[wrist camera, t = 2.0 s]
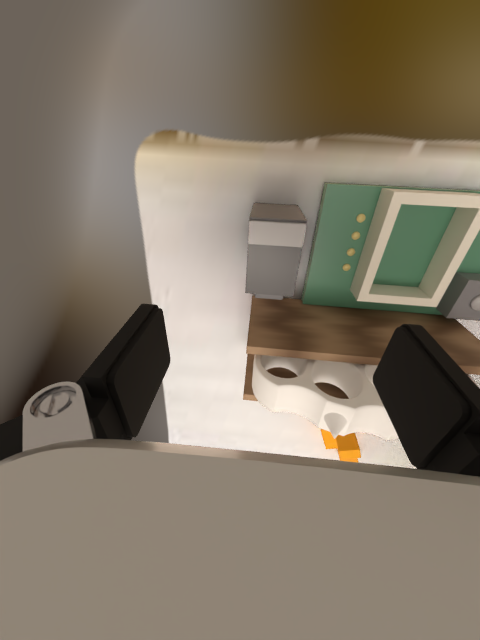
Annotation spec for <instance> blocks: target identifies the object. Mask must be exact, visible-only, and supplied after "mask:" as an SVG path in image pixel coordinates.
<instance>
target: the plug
mask: <svg viewBox="0 0 480 640" xmlns="http://www.w3.org/2000/svg"><path fill="white" fill-rule="evenodd" d="M306 223H307V220H306V218H305V216H304V215H303V213H302V211H301V210H300V208H299V207H298V205H285V204H267V203H254V204H253V208H252V211H251V214H250V220H249V234H248V256H247V274H246V292H245V293H252V294H255V298H264V299H277V300H283V296H291V297H293V296H294V291H295V285H296V279H297V274H298V268H299V263H300V257H301V251H302V247H303V244H304V239H305V233H306V227H307V224H306Z"/></svg>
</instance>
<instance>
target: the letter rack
mask: <svg viewBox="0 0 480 640" xmlns="http://www.w3.org/2000/svg"><path fill="white" fill-rule="evenodd" d="M402 324H415V325H421V326H423V327H424V328H425V329H426V331H427V332H428V333H429V334H430V335H431V336H432V337H433V338H434V339H435V340H436V342H437V343H438V344H439V345H440V346H441V347H442V348H443V349H444V350H445V351H446V352H447V354H448V355H449V356H450V357H451V358H452V359H453V360H454V361H455V362H456V363H457V365H458V366H459V367H460V368H461V369H462V370H463V371H464V372H465V373H466V374H476V375H480V340H479V339H477V338H476V337H475V336H474V335H473V334H472V333H471V332H469V331H468V330H467V329H466V328H465V327H464V326H463V325H461V324H460V323H459V322H458V321H457V320H456V319H453V318H446V317H445V316H444V315H436V314H423V313H411V312H398V311H385V310H373V309H360V308H347V307H335V306H322V305H309V304H303V303H302V299H289V298H283V300H277V299H264V298H255V296H252V305H251V314H250V323H249V332H248V341H247V352H246V354H248V356H247V366H246V375H245V385H244V395H243V400H252V401H258V400H257V399H256V397H255V395H254V393H253V389H252V376H253V363H254V357H255V354H257V355H268V356H279V357H290V358H301V359H312V360H323V361H334V362H345V363H356V364H367V365H378V364H379V362H380V360H381V358H382V356H383V354H384V352H385V350H386V348H387V345H388V343H389V341H390V339H391V337H392V335H393V333H394V331H395V329H396V328H397V327H400V326H401V325H402ZM266 371H267V372H269V373H270V374H272V375H274V376H276V377H280V378H295V377H298V376H297V375H296V374H295V373H294V372H292V371H291V370H289V369H286V368H281V367H274V368H270V369H268V370H266ZM315 385H316V386H317V387H318V388H319V389H320V390H321V391H323V392H324V393H326V394H328V395H330V396H332V397H335V398H340V399H349V398H348V396H347V395H346V393H345V392H344V391H343V390H341V389H340V388H338V387H337V386H335V385H333V384H330V383H325V382H318V383H315Z"/></svg>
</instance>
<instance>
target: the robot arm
mask: <svg viewBox="0 0 480 640" xmlns="http://www.w3.org/2000/svg"><path fill="white" fill-rule="evenodd" d="M169 364H170V353H169V347H168V341H167V335H166V328H165V322H164V316H163V311H162V309H160V308H158V306H157V305H153V304H141V305H140V306H139V308H138V309H137V310H136V311H135V313H134V314H133V315H132V316H131V317H130V319H129V320H128V321H127V322H126V323H125V325H124V326H123V327H122V328H121V330H120V331H119V332H118V333H117V334H116V336H115V337H114V338H113V339H112V340H111V341H110V343H109V344H108V345H107V346H106V347H105V349H104V350H103V351H102V352H101V353H100V355H99V356H98V357H97V358H96V359H95V361H94V362H93V363H92V364H91V366H90V367H89V368H88V369H87V370H86V372H85V373H84V374H83V375H82V377H81V378H80V379H79V380H78V381H77V383H73V382H60V383H56V384H53V385H50V386H48V387H46V388H44V389H42V390H40V391H39V392H37V393H36V394H35V395H34V396H32V398H30V399H29V400H28V402H27V403H26V405H25V406H24V410H23V415H21V416H19V417H17V418H15V419H12V420H10V421H8V422H5V423H3V424H1V425H0V640H480V389H479V388H478V386H477V385H476V384H475V383H474V382H473V381H472V380H471V379H470V378H469V377H468V375H467V374H466V373H465V372H464V371H463V370H462V369H461V368H460V367H459V366H458V365H457V363H456V362H455V361H454V360H453V359H452V358H451V357H450V356H449V355H448V354H447V352H446V351H445V350H444V349H443V348H442V347H441V346H440V345H439V344H438V343H437V342H436V340H435V339H434V338H433V337H432V336H431V335H430V334H429V333H428V332H427V331H426V329H425V328H424V327H423V326H421V325H415V324H402V325H401V326H400V327H397V328H396V329H395V331H394V333H393V335H392V337H391V339H390V341H389V343H388V345H387V348H386V350H385V352H384V354H383V356H382V358H381V360H380V362H379V364H378V366H377V368H376V370H375V372H374V375H373V384H374V386H375V388H376V390H377V392H378V395H379V397H380V399H381V401H382V403H383V405H384V407H385V409H386V412H387V414H388V416H389V418H390V420H391V422H392V424H393V426H394V429H395V431H396V433H397V435H398V437H399V439H400V441H401V443H402V446H403V448H404V450H405V452H406V454H407V456H408V458H409V460H410V462H411V464H412V465H413V466H416V468H417V469H411V468H402V467H393V466H384V465H375V464H366V463H357V462H347V461H338V460H328V459H319V458H309V457H300V456H290V455H281V454H271V453H261V452H252V451H242V450H231V449H221V448H211V447H201V446H191V445H181V444H171V443H158V442H146V441H134V440H131V439H132V437H136V436H137V435H138V433H139V431H140V429H141V426H142V424H143V422H144V420H145V417H146V415H147V413H148V411H149V409H150V407H151V404H152V402H153V400H154V398H155V396H156V393H157V391H158V389H159V387H160V384H161V382H162V380H163V378H164V376H165V374H166V371H167V369H168V367H169Z"/></svg>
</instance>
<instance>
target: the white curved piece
mask: <svg viewBox="0 0 480 640" xmlns="http://www.w3.org/2000/svg"><path fill="white" fill-rule="evenodd" d="M377 366H378V365H367V364H356V363H345V362H334V361H323V360H312V359H301V358H290V357H279V356H268V355H257V354H255V357H254V363H253V376H252V389H253V393H254V395H255V397H256V399H257V400H258V401H259V403H260V404H261V405H262V406H264V407H265V408H266V409H268V410H269V411H271V412H273V413H277V412H288V413H294V414H297V415H300V416H302V417H304V418H306V419H308V420H309V421H311V422H312V423H313V424H314V425H315V426H317V427H318V428H320V429H323V430H326V431H329V432H331V434H332V436H333V438H334V439H335V438H336V437H337V436H338V435H341V436H345V435H347V434H350V433H357V432H361V433H368V434H372V435H375V436H378V437H380V438H383V439H385V440H387V441H389V440H395V439H399V437H398V435H397V433H396V431H395V429H394V426H393V424H392V422H391V420H390V418H389V416H388V414H387V412H386V409H385V407H384V405H383V403H382V401H381V399H380V397H379V395H378V392H377V390H376V388H375V386H374V384H373V375H374V372H375V370H376V368H377ZM274 367H281V368H286V369H289V370H291V371H292V372H294V373H295V374H296V375H297V376H298V377H295V378H280V377H276V376H274V375H272V374H270V373H269V372H267V371H266V370H268V369H270V368H274ZM467 375H468V377H469V378H470V379H471V380H472V381H473V382H474V383H475V381H474V380H473V379H472V378H471V376H470V375H469V374H467ZM318 382H325V383H330V384H333V385H335V386H337V387H338V388H340V389H341V390H343V391H344V392H345V393H346V395H347V396H348V398H349V399H340V398H335V397H332V396H330V395H328V394H326V393H324V392H323V391H321V390H320V389H319V388H318V387H317V386H316V385H315V383H318ZM475 384H476V383H475ZM476 385H477V384H476Z"/></svg>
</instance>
